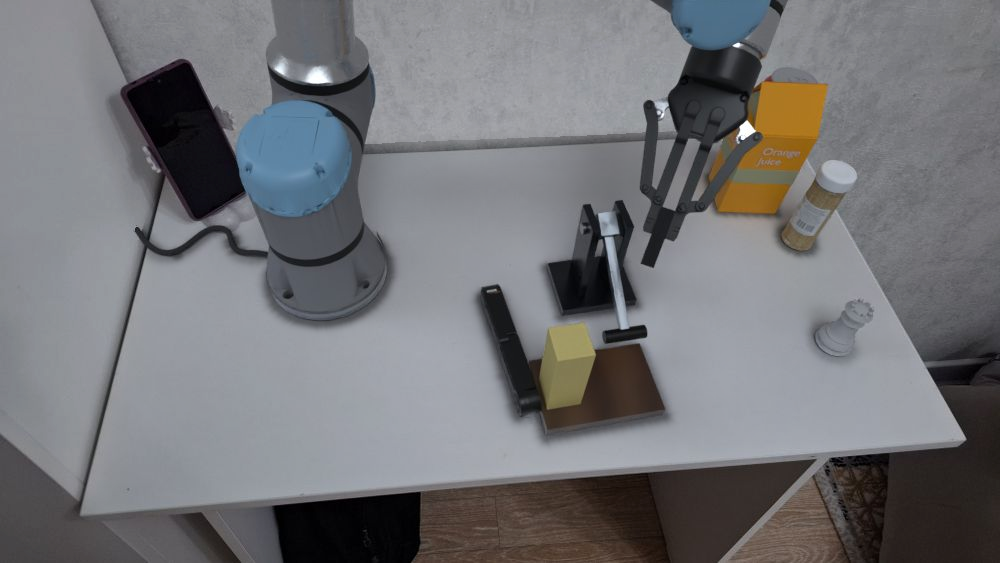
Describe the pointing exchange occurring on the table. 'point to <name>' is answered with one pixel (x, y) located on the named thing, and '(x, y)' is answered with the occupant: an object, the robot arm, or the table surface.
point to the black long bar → (510, 351)
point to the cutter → (591, 266)
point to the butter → (566, 365)
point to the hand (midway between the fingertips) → (647, 265)
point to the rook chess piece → (844, 328)
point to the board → (606, 392)
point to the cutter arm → (616, 283)
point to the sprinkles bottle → (818, 204)
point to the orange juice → (771, 146)
